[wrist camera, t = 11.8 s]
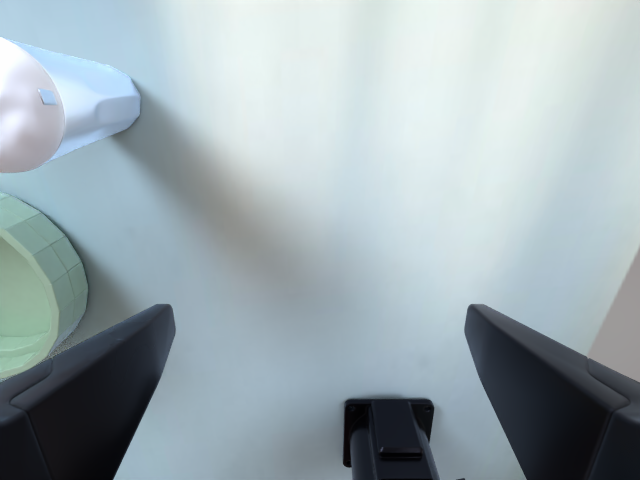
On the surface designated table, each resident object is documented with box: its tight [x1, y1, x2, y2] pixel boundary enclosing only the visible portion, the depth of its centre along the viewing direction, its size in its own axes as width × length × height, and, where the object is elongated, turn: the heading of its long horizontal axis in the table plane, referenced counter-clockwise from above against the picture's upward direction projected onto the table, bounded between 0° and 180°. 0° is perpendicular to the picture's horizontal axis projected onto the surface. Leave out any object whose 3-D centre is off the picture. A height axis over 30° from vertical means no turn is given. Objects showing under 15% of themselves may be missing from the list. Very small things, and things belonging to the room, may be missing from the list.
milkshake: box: [0, 37, 140, 173], centre depth 16 cm, size 5×5×10 cm
